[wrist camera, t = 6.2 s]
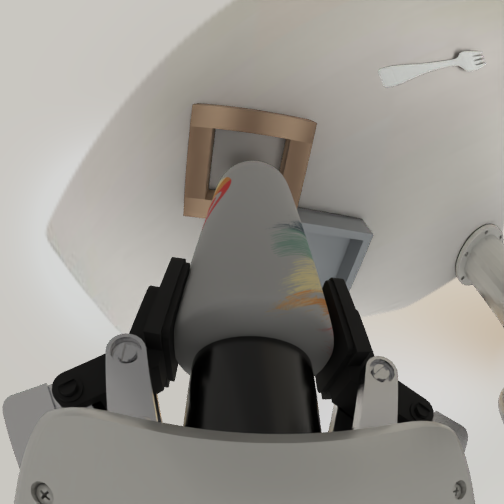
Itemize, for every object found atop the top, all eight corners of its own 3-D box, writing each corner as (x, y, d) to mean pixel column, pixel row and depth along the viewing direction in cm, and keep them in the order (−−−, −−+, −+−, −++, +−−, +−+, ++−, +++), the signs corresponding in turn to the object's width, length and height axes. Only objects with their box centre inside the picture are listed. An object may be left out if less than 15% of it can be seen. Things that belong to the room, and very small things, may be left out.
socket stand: (310, 119, 27) (316, 123, 24) (288, 217, 33) (291, 229, 30) (197, 103, 25) (192, 104, 23) (188, 204, 32) (183, 215, 29)
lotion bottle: (208, 214, 22) (140, 490, 6) (229, 149, 20) (131, 470, 3) (273, 233, 23) (300, 503, 7) (299, 173, 21) (415, 467, 4)
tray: (361, 218, 33) (373, 234, 30) (327, 305, 41) (333, 324, 38) (244, 199, 32) (244, 214, 28) (230, 296, 40) (228, 316, 36)
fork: (366, 69, 25) (373, 68, 23) (481, 48, 18) (493, 49, 16) (374, 89, 26) (382, 91, 24) (487, 66, 20) (498, 68, 17)
